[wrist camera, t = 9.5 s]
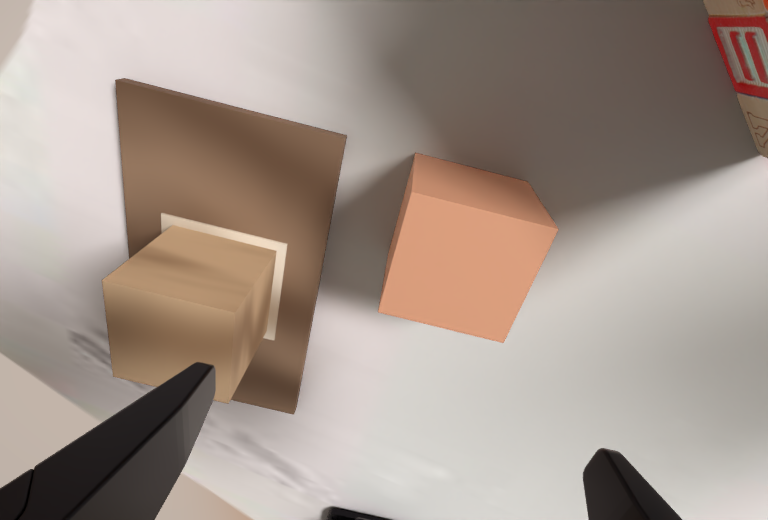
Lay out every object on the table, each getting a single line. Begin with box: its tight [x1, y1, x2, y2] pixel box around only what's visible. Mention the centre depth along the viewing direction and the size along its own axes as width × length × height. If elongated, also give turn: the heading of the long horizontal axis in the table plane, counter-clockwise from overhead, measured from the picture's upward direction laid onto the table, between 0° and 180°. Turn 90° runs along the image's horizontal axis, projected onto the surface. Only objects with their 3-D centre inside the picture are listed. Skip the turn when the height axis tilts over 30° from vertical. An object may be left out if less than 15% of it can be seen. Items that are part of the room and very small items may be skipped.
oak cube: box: [102, 225, 277, 404], centre depth 19 cm, size 5×5×5 cm
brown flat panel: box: [115, 78, 347, 414], centre depth 22 cm, size 17×10×1 cm, turn 167°
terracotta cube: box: [378, 153, 559, 343], centre depth 17 cm, size 5×5×5 cm
